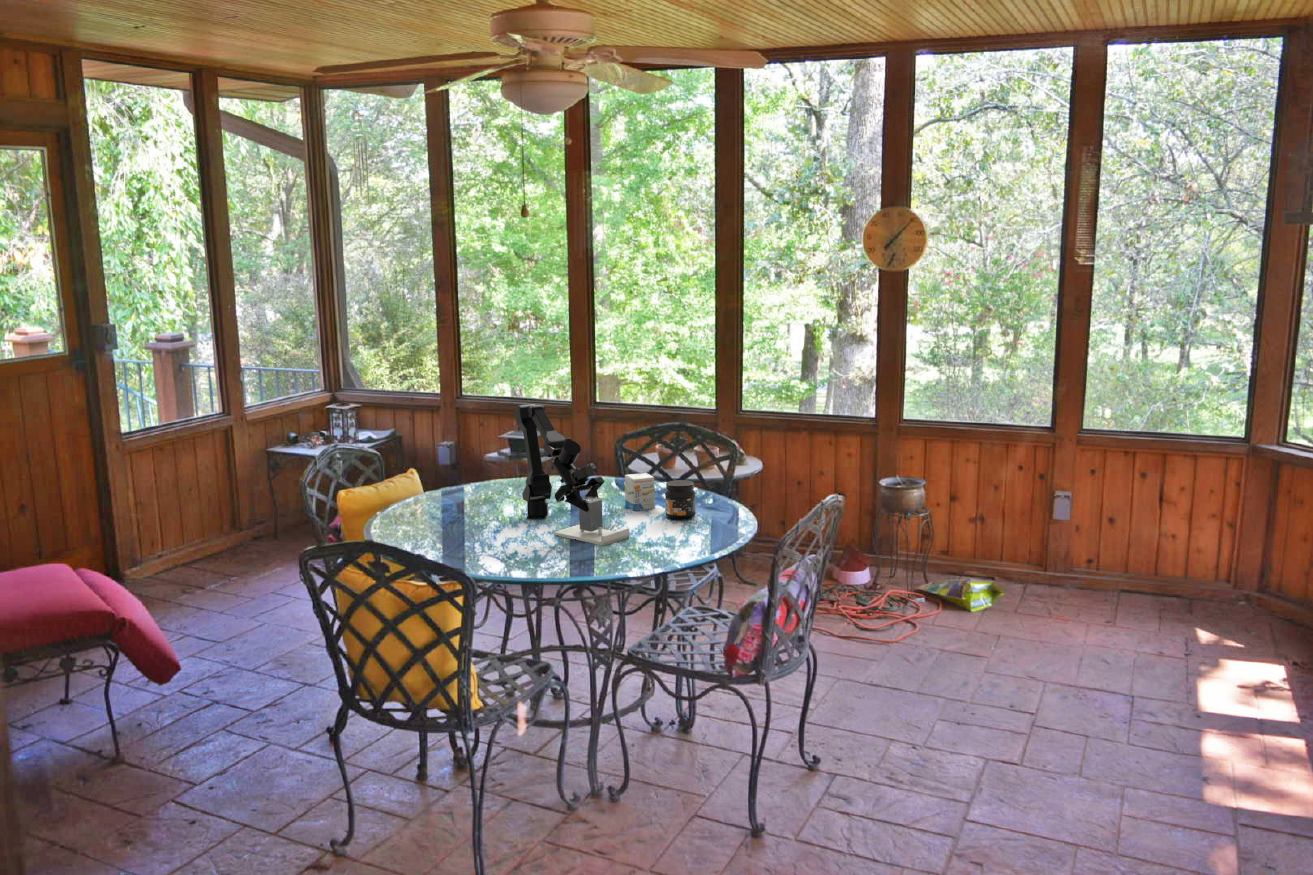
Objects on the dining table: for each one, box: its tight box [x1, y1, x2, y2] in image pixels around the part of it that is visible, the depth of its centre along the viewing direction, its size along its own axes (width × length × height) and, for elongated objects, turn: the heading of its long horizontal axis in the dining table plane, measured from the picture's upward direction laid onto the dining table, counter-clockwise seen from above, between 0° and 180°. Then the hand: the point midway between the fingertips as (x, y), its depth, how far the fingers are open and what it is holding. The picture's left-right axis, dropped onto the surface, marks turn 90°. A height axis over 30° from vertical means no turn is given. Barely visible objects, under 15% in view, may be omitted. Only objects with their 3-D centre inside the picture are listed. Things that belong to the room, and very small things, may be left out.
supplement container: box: [664, 479, 697, 521], centre depth 368 cm, size 10×10×12 cm
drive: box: [578, 496, 604, 532], centre depth 345 cm, size 5×6×10 cm
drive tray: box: [553, 523, 630, 547], centre depth 346 cm, size 22×12×4 cm, turn 51°
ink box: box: [624, 472, 656, 512], centre depth 383 cm, size 9×8×12 cm
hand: (593, 509), depth 344 cm, fingers closed on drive, 5 cm apart
